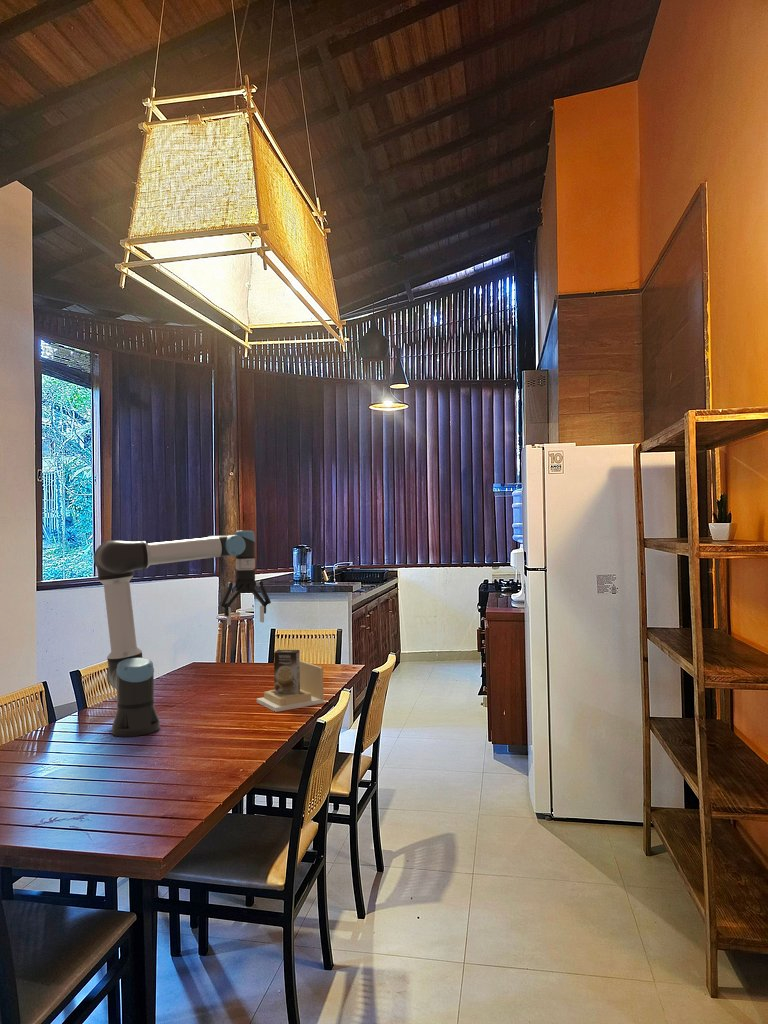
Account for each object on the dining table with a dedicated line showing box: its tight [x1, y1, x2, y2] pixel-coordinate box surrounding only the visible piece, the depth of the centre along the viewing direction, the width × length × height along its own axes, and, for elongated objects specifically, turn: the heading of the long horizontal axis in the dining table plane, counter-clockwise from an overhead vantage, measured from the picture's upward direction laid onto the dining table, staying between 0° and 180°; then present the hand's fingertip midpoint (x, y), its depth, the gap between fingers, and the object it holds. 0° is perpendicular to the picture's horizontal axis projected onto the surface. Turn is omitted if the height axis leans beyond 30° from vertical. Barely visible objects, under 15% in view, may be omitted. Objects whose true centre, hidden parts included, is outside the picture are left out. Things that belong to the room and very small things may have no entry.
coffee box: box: [273, 649, 301, 694], centre depth 251 cm, size 9×6×16 cm
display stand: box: [256, 660, 325, 713], centre depth 251 cm, size 20×18×14 cm
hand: (245, 623), depth 256 cm, fingers open, 13 cm apart
